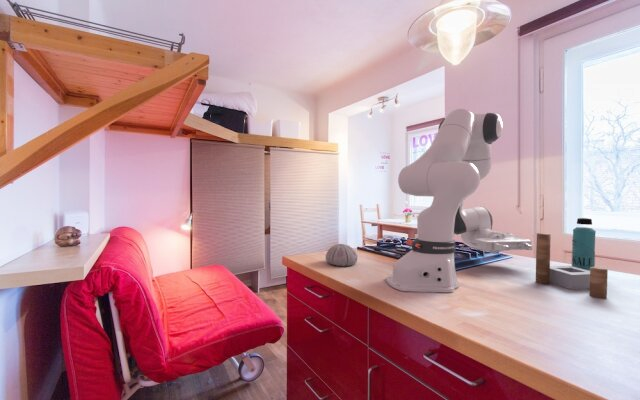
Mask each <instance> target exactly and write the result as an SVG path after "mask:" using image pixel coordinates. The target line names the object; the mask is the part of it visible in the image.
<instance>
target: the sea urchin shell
mask: <svg viewBox="0 0 640 400" xmlns="http://www.w3.org/2000/svg"><path fill="white" fill-rule="evenodd" d="M325 261H326V262H327V263H328V264H330V265H332V266H336V267H349V266H353V265H356V263H357V262H358V253H357V252H356V250H354V248H352V247H351V245H348V244H345V243H339V244H334V245H332V246H331V247H330V248H329V249H328V250H327V251H326V255H325Z"/></svg>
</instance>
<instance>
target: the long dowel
mask: <svg viewBox="0 0 640 400" xmlns="http://www.w3.org/2000/svg"><path fill="white" fill-rule="evenodd" d="M551 239H552V237H551V233H545V232H544V233H542V232H537V233H536V244H535V245H536V251H535V253H536V254H535V256H536V257H535V283H536V284H540V285H545V286H547V285H550V282H549V280H550V266H551V241H552V240H551Z"/></svg>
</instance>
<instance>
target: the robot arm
mask: <svg viewBox="0 0 640 400" xmlns="http://www.w3.org/2000/svg"><path fill="white" fill-rule="evenodd" d="M503 126H504V124H503V121H502V117H501V115H499V114H498V113H494V112H487V113H473V112H471V111H470V110H468V109H466V108H456V109H454V110H452V111H450V112H449V113H448V115H446V117H445V118H443V119H442V120H441V121H440V122H439V125H438V131H437V133H436V135H435V137H434V139H433V141H432V142H431V145H430V146H429V147H428V148H427V150H426V151H424V153H423V154H422V155H421V156H420V157H418V159H416V160H415V161H414V162H412V163H410V164H409V165H406V166H404V167H403V168H402V169H401V170H400V172H399V174H398V179H397V182H398V187H399V189H400V190H401V192H403V194H406V195H410V196H414V197H433V201H432V202H431V204H430V206H429V207H426V208H425V209H423V210H422V211H420V213H419V214H417V221H416V222H417V223H416V229H417V230H416V232H417V233H416V235H417V236H416V238H415V239H414V240H412V239H410V238H409V239H407V240H406V241H405V243H406V245H407V246H410V247H411V250H410V251H408V252H407V253H405V254H404V255H403V256H402V257H400V258H398V259H397V260H396V261H395V262H394V265H393V269H392V274H388V275H386V277H385V282H386V283H387V284H388V285H389V286H390V287H392V288H394V289H395V290H398V291H402V292H414V293H415V292H417V293H418V292H419V293H453V292H454V291H455V289H457V288H458V287H459V286H460V285H459V280H458V277H457V272H456V264H455V255H456V241H455V239H454V238H455V236H454V235H460V238H461V240H462V242H463V243H464V244H466V245H467V246H469V247H472V248H474V249H477V250H480V251H484V252H487V253H491V254H497V253H500V252H505V251H506V252H508V251H525V250H526V251H532V250H533V243H532V240H531V239H528V238H525V237H522V236H517V235H514V233H509V232H501V231H497V230H492V229H493V222H494V221H493V216H492V214H491V212H490V211H489V210H488V209H487V208H486V207H485V206H481V205H480V206H474V207H469V208H464V206H463V205H464V201H465V200H466V199H467V198H468V197H470V196H471V195H473V194H474V193H475V192H476V190H477V189H478V187H479V185H480V181H482V180H483V179H485V178H486V177H487V176H488V175H489V174H490V172H491V169H492V162H493V161H492V160H493V159H492V157H493V156H492V144H493V143H495V142H496V141H497V140H499V138H500V137H501V135H502V132H503V129H504V127H503Z"/></svg>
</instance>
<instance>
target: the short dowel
mask: <svg viewBox="0 0 640 400" xmlns="http://www.w3.org/2000/svg"><path fill="white" fill-rule="evenodd" d="M608 270H609V269H608V268H605V267H599V266H594V267H590V289H588V290H589V292H588V293H589V296H590V297H592V298H595V299H596V298H597V299H602V300H603V299H608V272H609V271H608Z"/></svg>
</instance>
